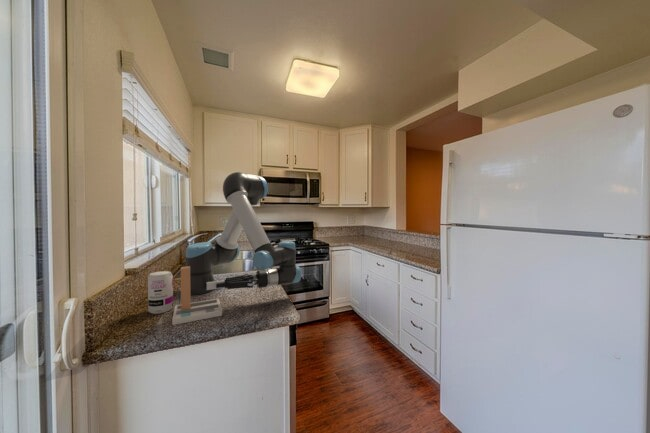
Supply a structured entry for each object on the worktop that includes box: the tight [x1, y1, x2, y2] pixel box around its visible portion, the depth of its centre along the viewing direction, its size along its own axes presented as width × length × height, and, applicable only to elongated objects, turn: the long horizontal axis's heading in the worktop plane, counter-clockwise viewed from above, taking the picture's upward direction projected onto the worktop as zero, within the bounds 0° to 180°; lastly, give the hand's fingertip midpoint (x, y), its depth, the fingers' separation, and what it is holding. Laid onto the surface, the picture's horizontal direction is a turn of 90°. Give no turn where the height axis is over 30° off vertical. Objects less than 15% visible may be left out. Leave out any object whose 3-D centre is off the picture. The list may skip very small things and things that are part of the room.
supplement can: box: [147, 270, 174, 315], centre depth 95 cm, size 8×8×15 cm
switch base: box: [171, 298, 223, 326], centre depth 92 cm, size 14×16×3 cm
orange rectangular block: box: [180, 265, 192, 310], centre depth 90 cm, size 4×3×16 cm
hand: (206, 286), depth 93 cm, fingers closed
